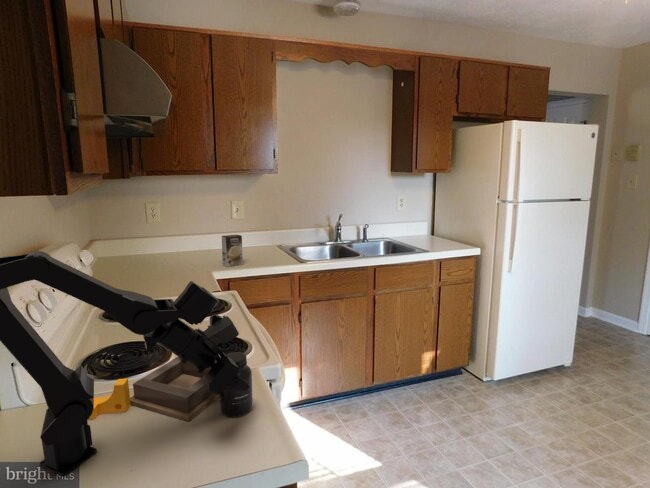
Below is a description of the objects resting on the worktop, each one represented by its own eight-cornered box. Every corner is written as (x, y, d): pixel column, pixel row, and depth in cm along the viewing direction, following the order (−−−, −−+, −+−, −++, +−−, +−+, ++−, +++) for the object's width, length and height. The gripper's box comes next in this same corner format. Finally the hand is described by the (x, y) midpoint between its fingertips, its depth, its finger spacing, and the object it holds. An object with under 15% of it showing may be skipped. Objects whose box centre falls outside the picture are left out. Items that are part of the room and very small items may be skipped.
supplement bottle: (241, 421, 81) (238, 367, 79) (214, 414, 84) (210, 361, 81) (259, 403, 87) (257, 352, 85) (232, 397, 90) (230, 347, 88)
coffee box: (227, 267, 210) (226, 237, 207) (222, 265, 215) (220, 235, 212) (243, 264, 215) (242, 235, 212) (238, 262, 220) (236, 234, 217)
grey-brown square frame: (188, 421, 81) (187, 401, 80) (127, 403, 88) (125, 385, 87) (237, 381, 97) (236, 364, 96) (182, 368, 103) (181, 352, 102)
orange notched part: (62, 422, 82) (58, 393, 80) (72, 409, 86) (69, 382, 85) (123, 417, 83) (120, 389, 82) (130, 405, 87) (127, 378, 86)
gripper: (224, 324, 71) (283, 366, 79) (201, 296, 87) (252, 333, 95) (182, 375, 69) (246, 414, 76) (166, 337, 85) (221, 371, 92)
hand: (241, 378), depth 85 cm, fingers open, 8 cm apart
